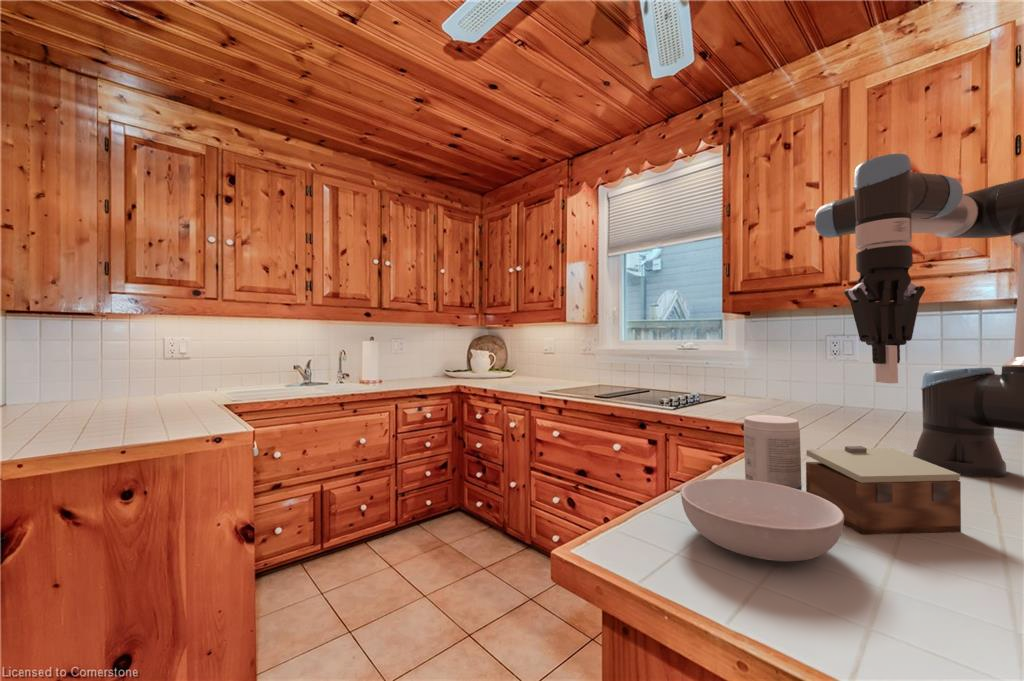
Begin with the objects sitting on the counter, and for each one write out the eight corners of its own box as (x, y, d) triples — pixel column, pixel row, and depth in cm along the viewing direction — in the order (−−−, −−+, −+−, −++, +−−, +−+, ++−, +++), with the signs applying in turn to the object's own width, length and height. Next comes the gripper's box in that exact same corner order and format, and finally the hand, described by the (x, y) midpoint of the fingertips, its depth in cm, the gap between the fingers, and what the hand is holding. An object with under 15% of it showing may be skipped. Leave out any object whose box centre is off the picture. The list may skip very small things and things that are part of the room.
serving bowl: (874, 557, 61) (873, 507, 61) (790, 603, 50) (790, 543, 50) (734, 507, 79) (733, 469, 79) (651, 534, 68) (651, 490, 68)
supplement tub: (807, 493, 86) (806, 418, 86) (794, 506, 79) (793, 425, 79) (753, 481, 93) (752, 412, 93) (737, 493, 86) (736, 418, 86)
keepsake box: (890, 503, 80) (890, 460, 80) (962, 532, 68) (962, 481, 68) (806, 505, 79) (806, 462, 79) (863, 535, 67) (862, 484, 67)
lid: (891, 453, 80) (891, 443, 80) (959, 480, 68) (960, 469, 68) (806, 455, 79) (806, 445, 79) (860, 482, 67) (861, 471, 67)
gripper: (866, 244, 72) (870, 386, 72) (940, 242, 73) (944, 383, 73) (830, 253, 80) (834, 381, 80) (898, 251, 80) (901, 379, 80)
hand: (886, 382), depth 76 cm, fingers closed
